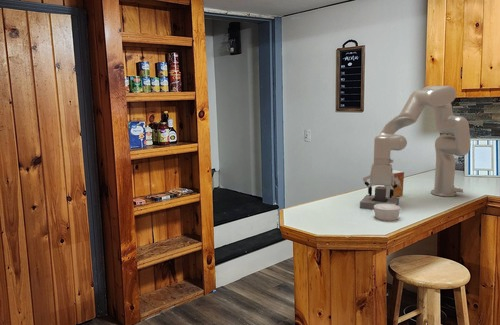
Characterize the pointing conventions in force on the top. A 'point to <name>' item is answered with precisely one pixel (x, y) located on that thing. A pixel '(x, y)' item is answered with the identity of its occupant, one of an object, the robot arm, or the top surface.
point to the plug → (380, 194)
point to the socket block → (370, 201)
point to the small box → (399, 189)
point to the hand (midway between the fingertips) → (380, 196)
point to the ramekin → (386, 211)
